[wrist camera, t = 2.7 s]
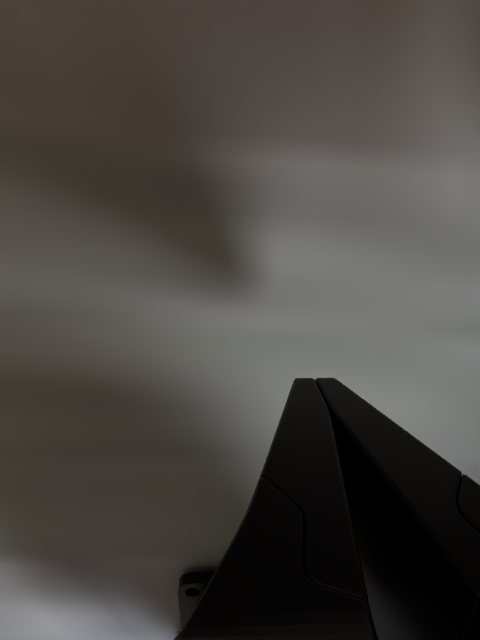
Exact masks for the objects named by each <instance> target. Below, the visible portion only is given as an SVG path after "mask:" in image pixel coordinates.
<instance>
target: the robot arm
mask: <svg viewBox="0 0 480 640" xmlns="http://www.w3.org/2000/svg"><path fill="white" fill-rule="evenodd" d="M178 597H179V608H180V619H181V631H180V633H179V634H178V635H177V637H176V638H175V639H174V640H480V485H479V484H477V483H476V482H475V481H473V480H472V479H471V478H469V477H468V476H467V475H462V473H461V471H460V470H458V469H457V468H455V467H454V466H453V465H451V464H450V463H449V462H447V461H446V460H445V459H443V458H442V457H441V456H439V455H438V454H437V453H435V452H434V451H433V450H431V449H430V448H428V447H427V446H426V445H424V444H423V443H422V442H420V441H419V440H418V439H416V438H415V437H414V436H412V435H411V434H410V433H408V432H407V431H406V430H404V429H403V428H401V427H400V426H399V425H397V424H396V423H395V422H393V421H392V420H391V419H389V418H388V417H387V416H385V415H384V414H383V413H381V412H380V411H378V410H377V409H376V408H374V407H373V406H372V405H370V404H369V403H368V402H366V401H365V400H364V399H362V398H361V397H360V396H358V395H357V394H356V393H354V392H353V391H351V390H350V389H349V388H347V387H346V386H345V385H343V384H342V383H341V382H339V381H338V380H337V379H335V378H317V379H315V380H314V379H313V378H296V379H295V380H294V382H293V384H292V387H291V390H290V393H289V396H288V399H287V402H286V404H285V407H284V410H283V413H282V416H281V419H280V421H279V424H278V427H277V430H276V433H275V436H274V439H273V441H272V444H271V447H270V450H269V453H268V456H267V459H266V461H265V464H264V467H263V470H262V473H261V476H260V479H259V481H258V483H257V486H256V489H255V492H254V495H253V497H252V499H251V502H250V504H249V507H248V509H247V512H246V514H245V517H244V519H243V521H242V523H241V525H240V527H239V529H238V531H237V533H236V535H235V537H234V539H233V540H232V542H231V544H230V546H229V548H228V550H227V551H226V553H225V555H224V557H223V559H222V560H221V562H220V564H219V566H218V568H217V569H216V571H215V572H190V573H186V574H184V575H182V576H181V577H180V581H179V589H178Z"/></svg>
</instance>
